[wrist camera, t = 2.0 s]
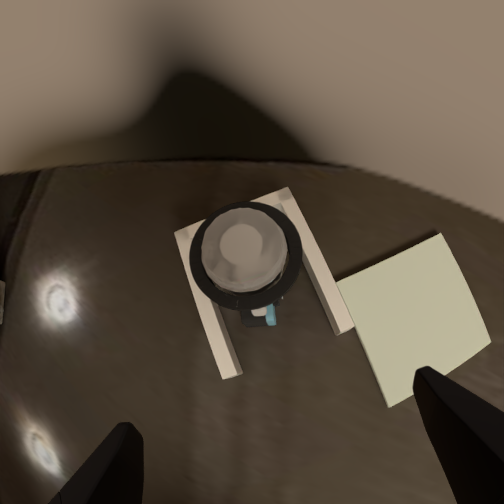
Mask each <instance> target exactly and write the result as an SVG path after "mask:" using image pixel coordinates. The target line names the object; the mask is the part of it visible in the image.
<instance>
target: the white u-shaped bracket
mask: <svg viewBox="0 0 504 504" xmlns="http://www.w3.org/2000/svg"><path fill="white" fill-rule="evenodd" d="M251 202H260V203H264V204H267V205H270V206H272V207H275V208H276V209H278V210H280V211H281V212H283V213H284V214H285V215H286V216H287V217H288V218H289V219H290V220H291V221H292V222H293V224H294V225H295V227H296V229H297V231H298V233H299V235H300V238H301V242H302V248H303V256H302V261H303V263H304V266H305V268H306V270H307V272H308V274H309V277H310V279H311V281H312V283H313V286H314V288H315V290H316V292H317V295H318V297H319V299H320V301H321V304H322V306H323V308H324V310H325V313H326V315H327V317H328V320H329V322H330V324H331V326H332V329H333V331H334V333H335V336H337V335H339V334H341V333H344V332H346V331H348V330H350V329H351V328H353V327H354V326H355V325H354V323H353V321H352V318H351V316H350V314H349V312H348V309H347V307H346V305H345V303H344V300H343V298H342V296H341V294H340V292H339V289H338V287H337V285H336V283H335V281H334V279H333V277H332V274H331V272H330V270H329V268H328V266H327V264H326V262H325V260H324V258H323V256H322V253H321V251H320V249H319V247H318V245H317V243H316V241H315V239H314V237H313V235H312V233H311V231H310V229H309V227H308V225H307V223H306V221H305V219H304V217H303V215H302V213H301V211H300V209H299V207H298V205H297V203H296V201H295V199H294V197H293V195H292V194H291V192H290V190H289V188H288V187H286V188H283V189H281V190H278V191H275V192H273V193H270V194H268V195H265V196H262V197H260V198H257V199H255V200H252V201H251ZM204 221H205V220H202V221H200V222H197V223H195V224H192V225H190V226H188V227H185V228H183V229H180V230H178V231H176V232H174V234H175V237H176V240H177V244H178V247H179V251H180V254H181V257H182V261H183V264H184V267H185V270H186V274H187V277H188V280H189V283H190V286H191V289H192V293H193V296H194V299H195V302H196V305H197V308H198V311H199V314H200V317H201V320H202V323H203V326H204V329H205V332H206V334H207V337H208V340H209V343H210V346H211V349H212V351H213V354H214V357H215V360H216V363H217V365H218V368H219V371H220V373H221V376H222V379H228V378H232V377H235V376H237V375H240V374H243V371H242V369H241V366H240V364H239V361H238V358H237V356H236V353H235V350H234V348H233V345H232V342H231V340H230V337H229V334H228V331H227V329H226V326H225V323H224V320H223V318H222V315H221V312H220V309H219V306H218V304H217V303H215V302H213V301H212V300H211V299H209V298H208V297H207V296H206V295H205V294H204V293H203V292H202V291H201V290H200V289H199V287H198V286H197V284H196V283H195V281H194V279H193V276H192V273H191V270H190V264H189V252H190V246H191V242H192V240H193V237H194V235H195V233H196V231H197V230H198V228H199V226H200V225H201V224H202V223H203V222H204Z"/></svg>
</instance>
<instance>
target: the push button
mask: <svg viewBox="0 0 504 504" xmlns="http://www.w3.org/2000/svg"><path fill="white" fill-rule="evenodd" d="M287 249H288V251H289V255H290V257H289V262H288V266H287V268H286V270H285V272H284V274H283V276H282V271H283V266H284V264H285V260H286V254H287ZM302 256H303V248H302V242H301V238H300V235H299V233H298V231H297V229H296V227H295V225H294V224H293V222H292V221H291V220H290V219H289V218H288V217H287V216H286V215H285V214H284V213H283V212H281V211H280V210H278V209H276V208H275V207H272V206H270V205H267V204H264V203H260V202H251V201H246V202H237V203H233V204H230V205H227V206H224V207H222V208H220V209H219V210H217V211H215V212H214V213H212V214H211V215H210V216H209V217H208V218H206V219H205V221H204V222H203V223H202V224H201V225H200V226H199V228H198V230H197V231H196V233H195V235H194V237H193V240H192V242H191V246H190V252H189V264H190V270H191V273H192V276H193V279H194V281H195V283H196V284H197V286H198V287H199V289H200V290H201V291H202V292H203V293H204V294H205V295H206V296H207V297H208V298H209V299H211V300H212V301H213V302H215V303H217V304H219V305H220V306H223V307H225V308H229V309H232V310H240V311H241V319H242V323H243V324H244V325H245V326H246V327H256V326H269V325H276V316H275V306H280V303H279V299H280V298H281V297H282V299H283V296H284V295H285V294H286V293H287V292H288V291H289V290H290V288H291V287H292V286H293V284H294V283H295V281H296V279H297V277H298V275H299V272H300V269H301V265H302ZM281 276H282V277H281ZM211 279H212V280H213V281H214V282H215V283H216V284H218V285H219V286H220V287H222V288H224V289H227V290H229V291H230V292H231V293H232V294H234V295H235V296H234V295H230V294H227V293H225V292H223V291H221V290H219V289H218V288H216V287H215V285H214V284H213V282H212V280H211Z"/></svg>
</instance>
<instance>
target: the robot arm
mask: <svg viewBox="0 0 504 504" xmlns="http://www.w3.org/2000/svg"><path fill="white" fill-rule="evenodd" d="M412 389H413V393H414V396H415V399H416V402H417V405H418V408H419V411H420V414H421V417H422V420H423V423H424V426H425V429H426V432H427V434H428V436H429V439H430V441H431V443H432V445H433V447H434V450H435V452H436V454H437V456H438V459H439V461H440V463H441V465H442V468H443V470H444V472H445V475H446V477H447V480H448V482H449V484H450V487H451V489H452V492H453V494H454V497H455V499H456V502H457V504H504V412H503V411H501V410H499V409H498V408H496V407H494V406H493V405H491V404H490V403H488V402H486V401H485V400H483V399H482V398H480V397H478V396H477V395H475V394H474V393H472V392H470V391H469V390H467V389H465V388H464V387H462V386H461V385H459V384H457V383H456V382H454V381H453V380H451V379H449V378H448V377H446V376H445V375H443V374H441V373H440V372H438V371H437V370H435V369H433V368H432V367H430V366H424V367H421V368H418V369H417V370H416V371H415V375H414V380H413V386H412ZM143 483H144V454H143V437H142V435H141V434H140V433H139V431H138V430H137V429H136V428H135V427H134V425H133V424H132V423H130V422H120V423H118V424H117V425H116V426H115V428H114V429H113V430H112V431H111V432H110V433H109V435H108V436H107V437H106V438H105V439H104V440H103V442H102V443H101V444H100V445H99V446H98V447H97V448H96V450H95V451H94V452H93V453H92V454H91V455H90V457H89V458H88V459H87V460H86V461H85V462H84V463H83V465H82V466H81V467H80V468H79V469H78V470H77V471H76V473H75V474H74V475H73V476H72V477H71V478H70V479H69V481H68V482H67V483H66V484H65V485H64V486H63V488H62V489H61V490H60V492H58V493H57V494H56V495H55V497H54V498H53V499H52V500H51V501H50V502H49V503H48V504H142V495H143Z"/></svg>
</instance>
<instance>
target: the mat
mask: <svg viewBox="0 0 504 504" xmlns="http://www.w3.org/2000/svg"><path fill="white" fill-rule="evenodd" d="M336 285H337V287H338V289H339V292H340V294H341V296H342V298H343V300H344V303H345V305H346V307H347V309H348V312H349V314H350V316H351V318H352V321H353V323H354V325H355V326H354V328H355V330H356V332H357V334H358V337H359V339H360V341H361V344H362V346H363V349H364V351H365V353H366V356H367V358H368V360H369V363H370V365H371V368H372V370H373V373H374V375H375V377H376V380H377V382H378V385H379V387H380V390H381V392H382V395H383V398H384V400H385V403H386V405H387V407H389V408H390V407H391V406H393V405H395V404H397V403H399V402H401V401H402V400H404V399H406V398H408V397H410V396H411V395H413V394H414V393H413V389H412V386H413V380H414V375H415V371H416V370H417V369H418V368H421V367H424V366H430V367H432V368H433V369H435V370H437V371H438V372H440V373H441V374H443V375H446V374H447V373H449V372H450V371H452V370H453V369H455V368H456V367H458V366H459V365H461V364H462V363H463V362H465V361H466V360H468V359H469V358H471V357H472V356H473V355H475V354H476V353H477V352H479V351H480V350H481V349H483V348H484V347H485V346H487V345H488V344H489V343H491V340H490V338H489V335H488V332H487V330H486V327H485V325H484V322H483V320H482V317H481V315H480V312H479V310H478V308H477V305H476V303H475V301H474V298H473V296H472V294H471V292H470V289H469V287H468V285H467V283H466V281H465V279H464V277H463V275H462V273H461V270H460V268H459V266H458V264H457V262H456V260H455V259H454V257H453V255H452V253H451V251H450V249H449V247H448V245H447V243H446V241H445V240H444V238H443V236H442V234H441V233H440V234H438V235H436V236H434V237H432V238H430V239H428V240H426V241H424V242H422V243H420V244H418V245H416V246H414V247H412V248H409V249H407V250H405V251H403V252H401V253H399V254H397V255H395V256H393V257H391V258H389V259H386V260H384V261H382V262H380V263H378V264H376V265H374V266H371V267H369V268H367V269H365V270H363V271H360V272H358V273H356V274H354V275H352V276H349V277H347V278H345V279H343V280H340V281H338V282H336Z"/></svg>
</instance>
